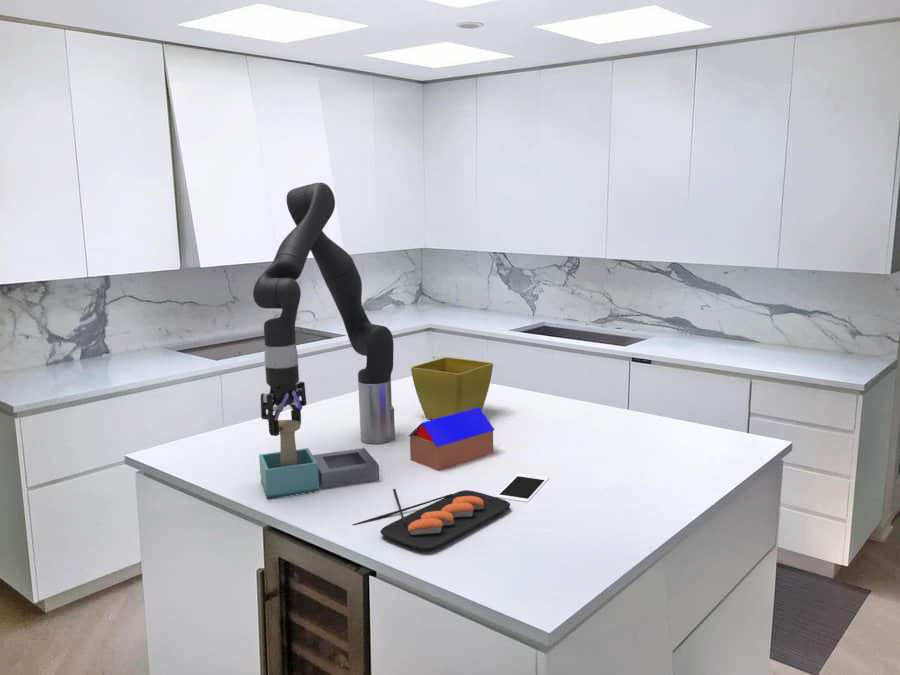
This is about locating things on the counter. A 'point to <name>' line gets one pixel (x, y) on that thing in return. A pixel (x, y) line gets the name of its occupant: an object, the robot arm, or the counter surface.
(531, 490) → the cell phone
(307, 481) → the bin
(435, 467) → the house
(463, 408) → the flower pot
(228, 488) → the counter surface
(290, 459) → the handle
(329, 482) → the socket block
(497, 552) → the counter surface
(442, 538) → the sushi plate
